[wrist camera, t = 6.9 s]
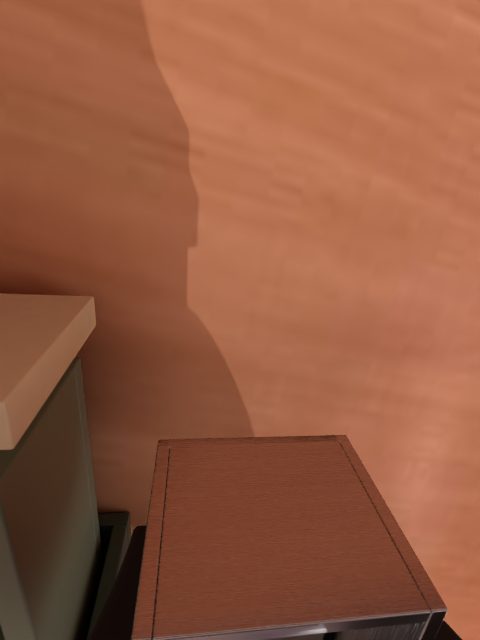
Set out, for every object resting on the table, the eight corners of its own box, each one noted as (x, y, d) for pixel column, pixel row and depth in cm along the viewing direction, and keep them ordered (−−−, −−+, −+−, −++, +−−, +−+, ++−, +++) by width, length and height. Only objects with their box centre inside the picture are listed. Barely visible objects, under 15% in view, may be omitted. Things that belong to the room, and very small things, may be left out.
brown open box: (346, 434, 10) (449, 610, 6) (309, 596, 12) (362, 793, 8) (158, 439, 9) (129, 643, 5) (162, 610, 11) (145, 830, 8)
